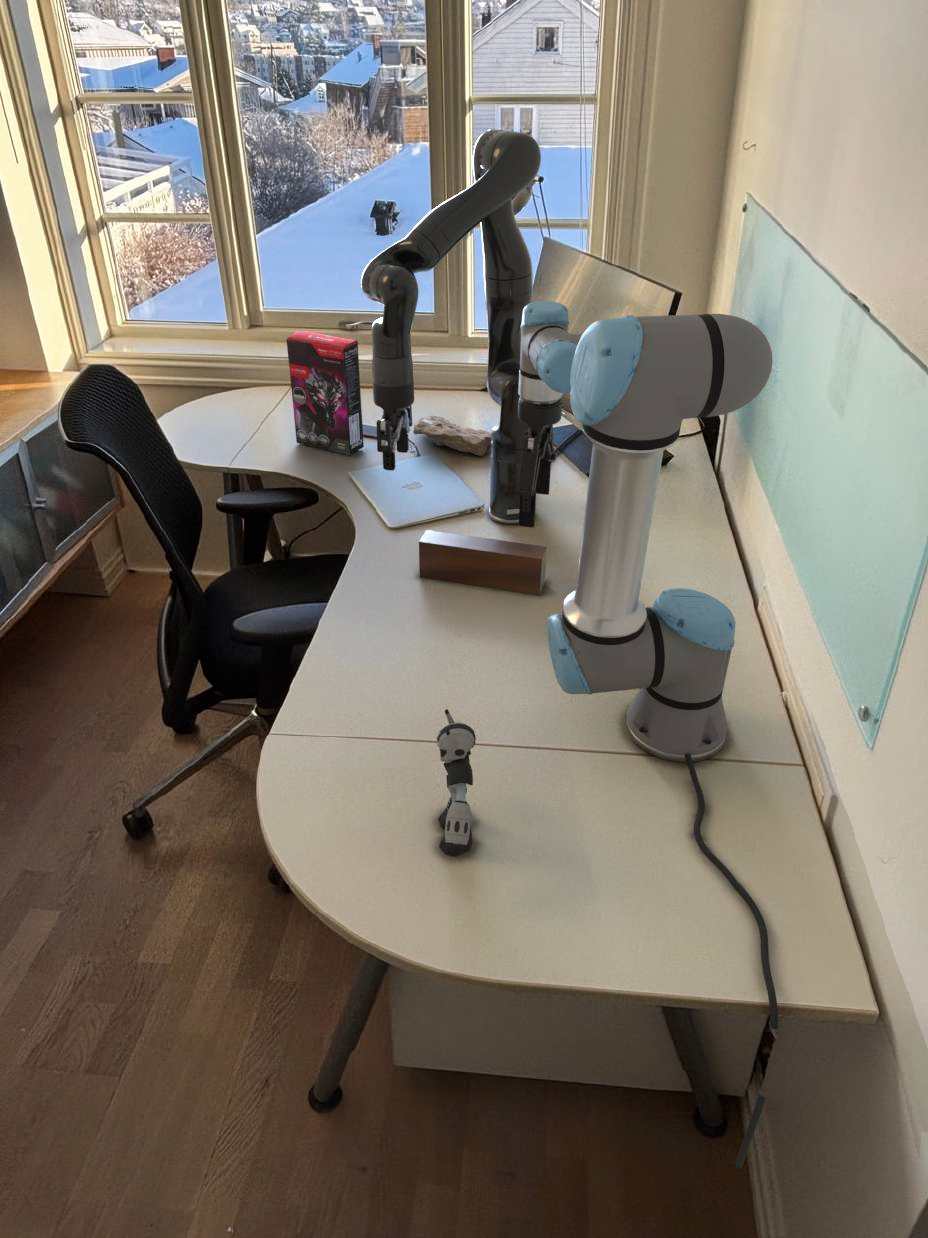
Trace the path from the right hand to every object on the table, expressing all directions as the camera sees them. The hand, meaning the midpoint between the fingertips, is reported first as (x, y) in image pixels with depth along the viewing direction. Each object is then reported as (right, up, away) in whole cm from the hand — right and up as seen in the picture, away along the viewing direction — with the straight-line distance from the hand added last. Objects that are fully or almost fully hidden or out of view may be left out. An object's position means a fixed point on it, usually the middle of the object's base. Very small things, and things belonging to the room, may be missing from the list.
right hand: (534, 509), depth 169 cm
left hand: (-26, +10, +8) cm, 29 cm away
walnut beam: (-9, -12, +11) cm, 19 cm away
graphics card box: (-47, +24, +64) cm, 83 cm away
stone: (-16, +24, +65) cm, 72 cm away
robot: (-14, -49, -44) cm, 67 cm away
